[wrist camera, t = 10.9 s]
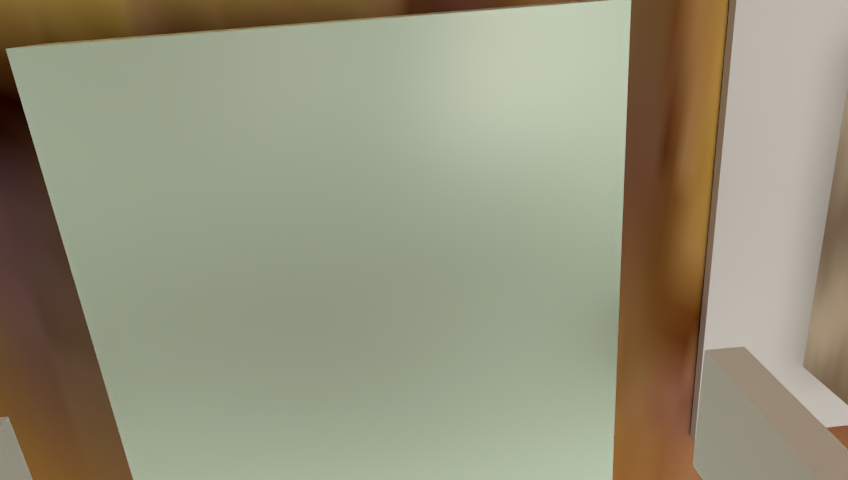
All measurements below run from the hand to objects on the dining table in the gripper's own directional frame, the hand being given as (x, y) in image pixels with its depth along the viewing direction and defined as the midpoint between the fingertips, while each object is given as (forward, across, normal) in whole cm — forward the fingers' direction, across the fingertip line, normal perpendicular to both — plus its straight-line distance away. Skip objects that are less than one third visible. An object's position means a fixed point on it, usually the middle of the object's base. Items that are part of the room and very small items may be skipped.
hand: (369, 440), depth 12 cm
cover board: (+4, 0, 0) cm, 4 cm away
